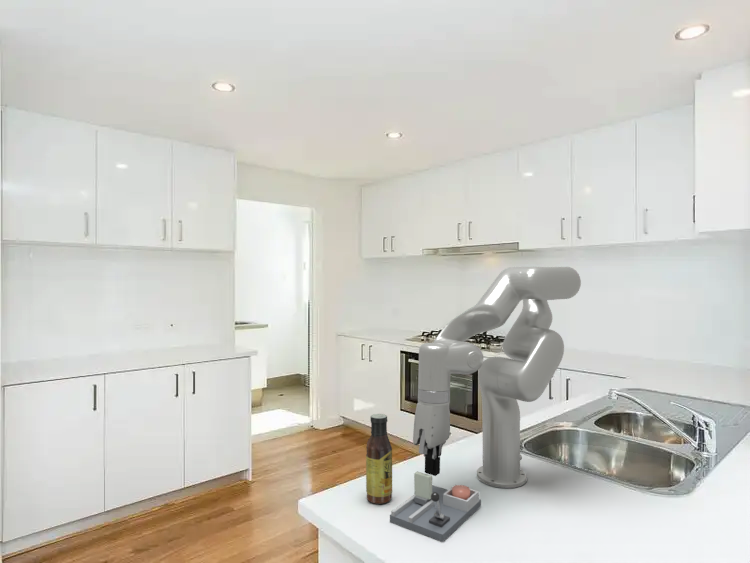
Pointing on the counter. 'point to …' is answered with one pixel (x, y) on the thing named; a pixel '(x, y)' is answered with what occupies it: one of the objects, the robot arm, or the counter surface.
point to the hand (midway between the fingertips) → (432, 473)
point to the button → (461, 492)
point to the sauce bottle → (379, 462)
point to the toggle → (437, 506)
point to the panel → (423, 515)
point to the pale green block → (422, 488)
